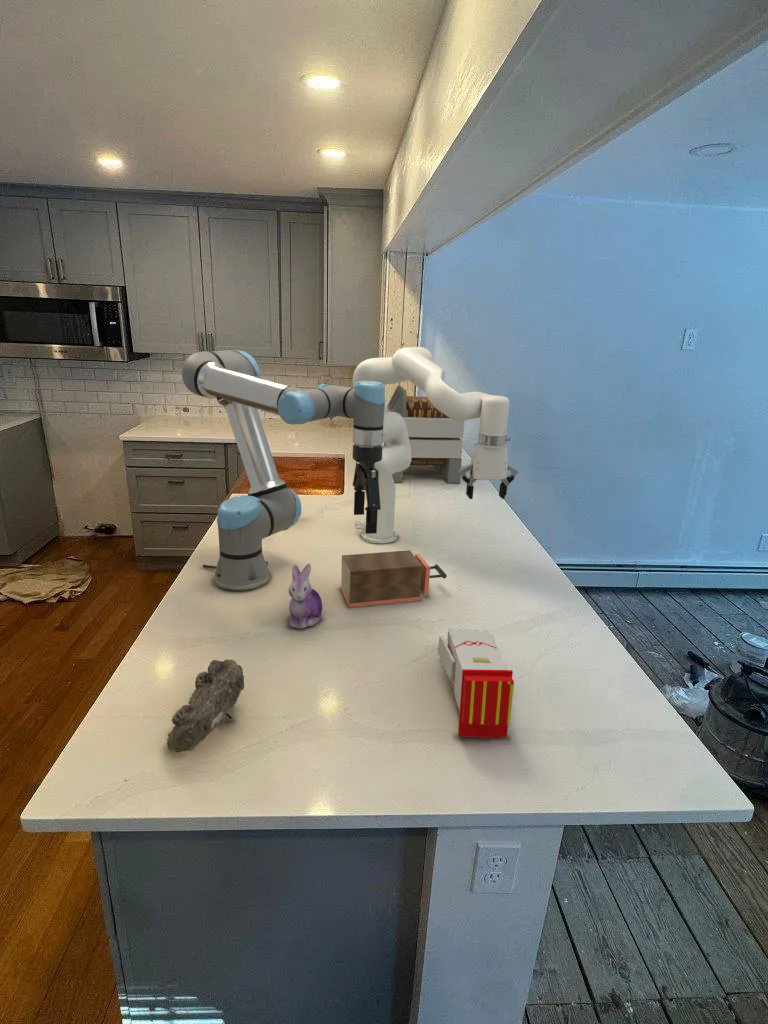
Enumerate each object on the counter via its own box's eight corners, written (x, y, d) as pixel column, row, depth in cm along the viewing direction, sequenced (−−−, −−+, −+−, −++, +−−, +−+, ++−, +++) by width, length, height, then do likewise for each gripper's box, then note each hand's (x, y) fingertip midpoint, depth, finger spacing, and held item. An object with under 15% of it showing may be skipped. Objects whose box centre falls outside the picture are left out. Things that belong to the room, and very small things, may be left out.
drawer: (435, 578, 166) (437, 551, 163) (447, 593, 158) (449, 565, 155) (355, 585, 159) (355, 558, 157) (363, 601, 151) (364, 573, 148)
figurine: (294, 634, 136) (293, 577, 131) (280, 614, 145) (279, 560, 139) (330, 625, 140) (331, 571, 135) (315, 606, 149) (315, 554, 144)
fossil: (192, 660, 117) (244, 628, 112) (224, 691, 120) (276, 661, 115) (142, 746, 98) (202, 712, 93) (182, 779, 101) (242, 748, 96)
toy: (488, 613, 130) (523, 677, 101) (484, 667, 133) (517, 744, 104) (435, 612, 130) (455, 676, 101) (432, 666, 133) (451, 743, 103)
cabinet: (407, 582, 165) (409, 550, 161) (419, 600, 155) (422, 565, 152) (341, 588, 159) (341, 555, 156) (349, 607, 150) (350, 571, 146)
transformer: (382, 463, 289) (386, 382, 275) (445, 464, 293) (451, 384, 279) (390, 482, 257) (394, 392, 243) (460, 483, 261) (468, 394, 247)
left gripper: (396, 456, 132) (391, 540, 139) (370, 433, 155) (367, 506, 162) (364, 457, 130) (361, 542, 137) (343, 433, 153) (341, 508, 160)
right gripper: (516, 437, 165) (509, 493, 171) (458, 437, 163) (453, 493, 168) (525, 443, 158) (518, 501, 164) (465, 442, 156) (460, 502, 161)
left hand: (364, 523), depth 150 cm, fingers open, 13 cm apart
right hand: (485, 497), depth 166 cm, fingers open, 9 cm apart
